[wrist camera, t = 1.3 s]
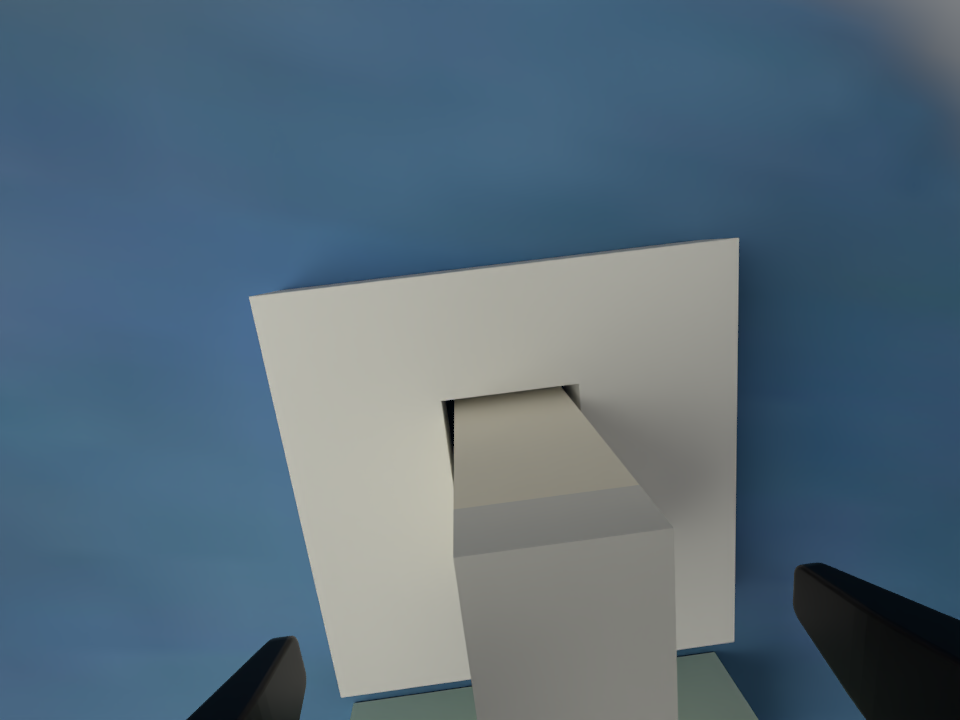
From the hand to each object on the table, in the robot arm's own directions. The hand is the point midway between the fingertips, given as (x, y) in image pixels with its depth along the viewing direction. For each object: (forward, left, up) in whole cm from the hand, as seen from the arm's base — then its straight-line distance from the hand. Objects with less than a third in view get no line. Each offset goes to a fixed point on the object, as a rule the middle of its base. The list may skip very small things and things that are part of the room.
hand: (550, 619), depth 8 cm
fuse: (0, 0, -6) cm, 7 cm away
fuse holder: (0, 0, -6) cm, 7 cm away
